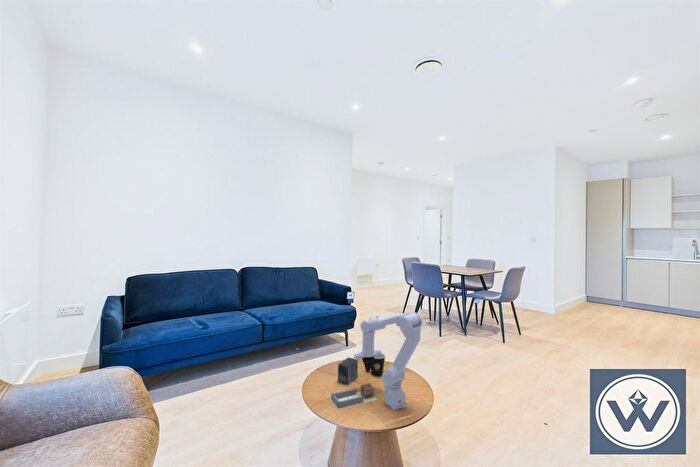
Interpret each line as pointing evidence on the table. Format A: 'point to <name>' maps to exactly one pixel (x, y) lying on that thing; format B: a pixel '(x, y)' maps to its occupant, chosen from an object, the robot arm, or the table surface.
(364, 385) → the walnut cube
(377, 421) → the table surface
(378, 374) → the coffee mug
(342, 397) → the bay board
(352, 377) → the small box
